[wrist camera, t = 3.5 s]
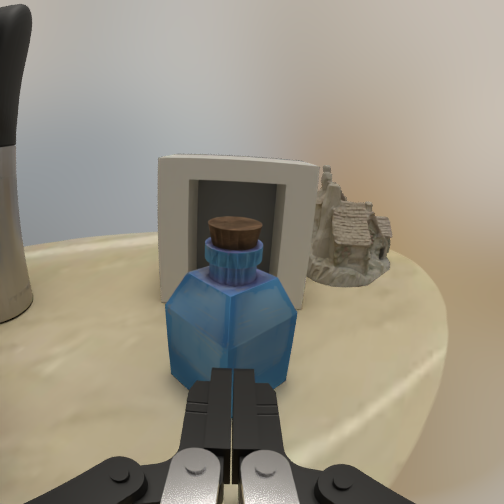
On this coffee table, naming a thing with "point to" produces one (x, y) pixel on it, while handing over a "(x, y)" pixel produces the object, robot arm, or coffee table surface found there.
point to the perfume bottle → (230, 311)
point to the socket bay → (236, 213)
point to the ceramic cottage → (346, 239)
